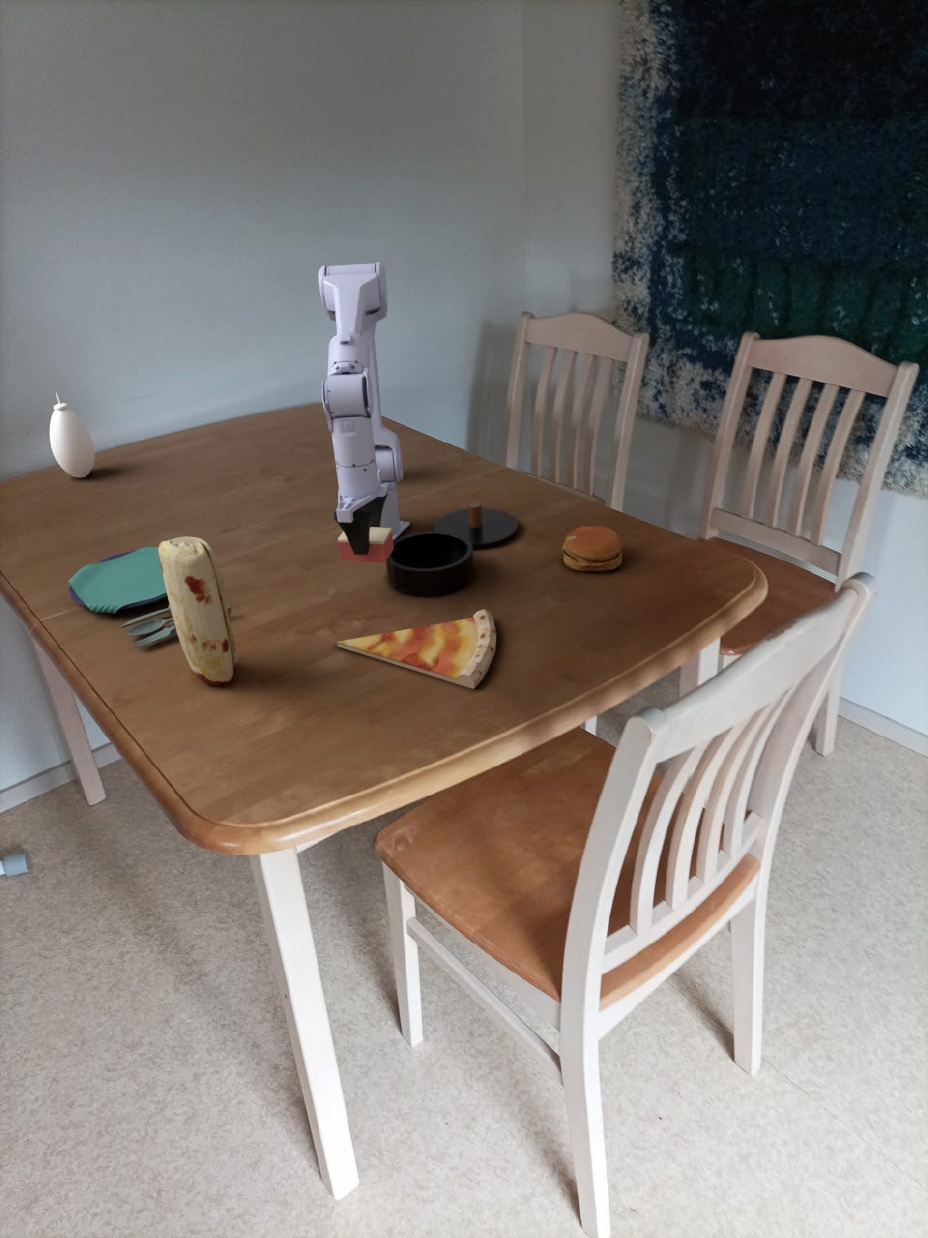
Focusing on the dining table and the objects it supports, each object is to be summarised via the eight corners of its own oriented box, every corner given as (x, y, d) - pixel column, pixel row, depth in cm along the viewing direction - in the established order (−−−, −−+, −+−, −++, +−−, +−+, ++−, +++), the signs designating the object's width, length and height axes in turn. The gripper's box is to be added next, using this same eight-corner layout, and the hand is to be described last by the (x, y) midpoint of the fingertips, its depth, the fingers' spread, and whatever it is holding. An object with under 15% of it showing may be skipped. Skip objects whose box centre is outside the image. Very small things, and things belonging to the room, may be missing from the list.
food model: (175, 670, 119) (140, 538, 109) (219, 650, 123) (189, 521, 112) (210, 700, 113) (175, 563, 102) (255, 678, 117) (226, 544, 106)
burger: (632, 567, 137) (634, 540, 135) (579, 579, 135) (579, 552, 133) (604, 542, 145) (605, 516, 143) (552, 553, 143) (552, 527, 141)
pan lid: (420, 543, 148) (418, 516, 146) (453, 509, 160) (451, 483, 157) (501, 555, 143) (500, 526, 141) (529, 518, 155) (528, 491, 152)
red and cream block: (340, 560, 130) (337, 539, 128) (349, 546, 133) (347, 525, 131) (385, 562, 128) (383, 541, 126) (393, 548, 132) (391, 527, 130)
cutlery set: (174, 546, 152) (171, 535, 151) (246, 613, 131) (243, 600, 130) (57, 584, 143) (53, 571, 141) (114, 662, 122) (110, 649, 120)
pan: (373, 589, 136) (370, 564, 133) (410, 551, 146) (407, 526, 144) (454, 602, 131) (452, 576, 129) (486, 561, 142) (484, 536, 139)
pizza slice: (400, 596, 133) (399, 585, 132) (530, 630, 123) (530, 618, 122) (337, 647, 122) (335, 635, 121) (474, 689, 112) (473, 676, 111)
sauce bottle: (86, 466, 189) (62, 383, 179) (108, 473, 185) (84, 388, 175) (54, 478, 183) (27, 394, 174) (75, 485, 179) (49, 399, 170)
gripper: (367, 480, 116) (377, 570, 123) (397, 442, 128) (405, 526, 135) (317, 479, 117) (330, 567, 125) (351, 441, 129) (361, 524, 137)
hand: (366, 546), depth 130 cm, fingers closed on red and cream block, 4 cm apart
